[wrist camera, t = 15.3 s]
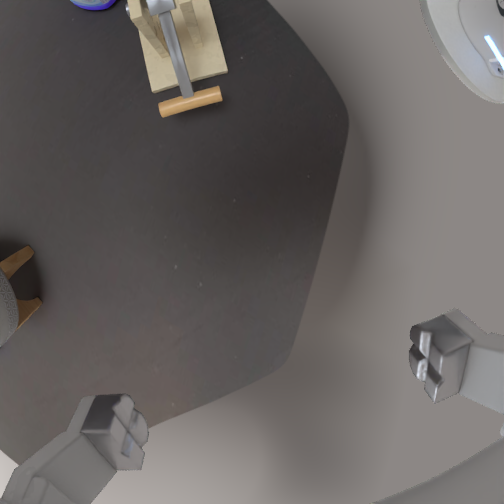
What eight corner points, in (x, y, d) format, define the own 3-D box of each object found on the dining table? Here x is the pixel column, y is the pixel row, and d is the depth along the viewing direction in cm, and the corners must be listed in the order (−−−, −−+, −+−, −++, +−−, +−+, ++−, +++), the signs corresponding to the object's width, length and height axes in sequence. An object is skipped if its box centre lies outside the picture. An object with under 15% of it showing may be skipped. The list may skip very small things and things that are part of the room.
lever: (221, 96, 29) (223, 104, 27) (164, 112, 29) (162, 121, 27) (191, -23, 19) (190, -25, 17) (126, -3, 19) (121, -3, 17)
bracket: (227, 72, 32) (226, 31, 19) (154, 93, 33) (114, 66, 19) (206, -6, 29) (197, -67, 15) (137, 14, 29) (99, -36, 16)
